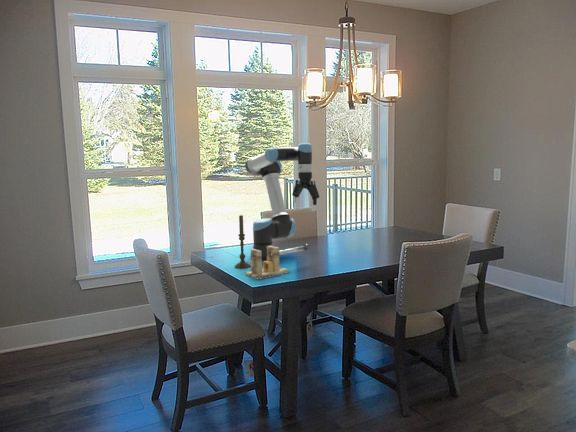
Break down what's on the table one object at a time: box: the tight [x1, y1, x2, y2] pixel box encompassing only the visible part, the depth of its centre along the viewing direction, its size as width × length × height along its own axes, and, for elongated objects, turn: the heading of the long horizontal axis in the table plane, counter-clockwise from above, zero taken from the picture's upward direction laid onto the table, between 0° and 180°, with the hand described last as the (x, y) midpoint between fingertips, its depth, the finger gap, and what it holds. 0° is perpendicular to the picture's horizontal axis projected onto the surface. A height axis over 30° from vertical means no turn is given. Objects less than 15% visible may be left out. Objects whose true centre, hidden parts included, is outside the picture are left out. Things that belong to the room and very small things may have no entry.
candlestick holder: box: [234, 214, 251, 269], centre depth 265 cm, size 9×9×30 cm
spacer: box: [262, 260, 274, 272], centre depth 252 cm, size 5×3×5 cm, turn 39°
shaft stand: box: [245, 245, 290, 280], centre depth 251 cm, size 12×20×14 cm, turn 129°
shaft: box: [270, 243, 311, 257], centre depth 260 cm, size 4×26×4 cm, turn 129°
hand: (305, 209), depth 264 cm, fingers open, 13 cm apart
